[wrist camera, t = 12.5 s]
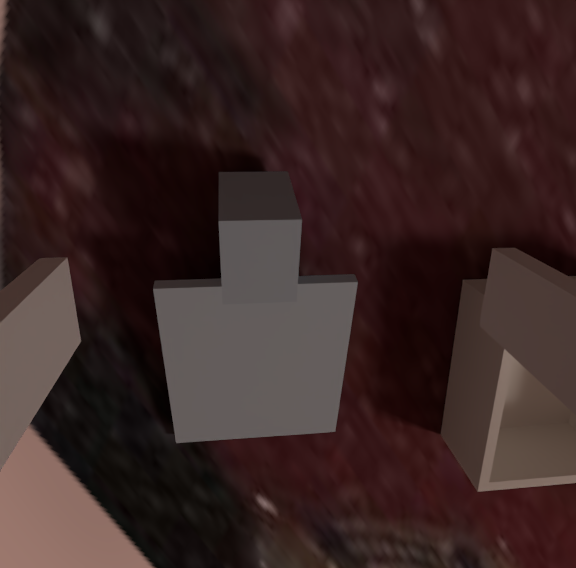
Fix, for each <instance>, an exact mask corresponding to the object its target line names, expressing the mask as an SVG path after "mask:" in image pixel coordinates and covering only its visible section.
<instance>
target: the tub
mask: <svg viewBox="0 0 576 568" xmlns="http://www.w3.org/2000/svg"><path fill="white" fill-rule="evenodd" d="M569 277H571V278H572V279H574V280H576V276H569ZM486 283H487V279H470V280H463V283H462V290H461V297H460V304H459V311H458V317H457V324H456V331H455V338H454V345H453V352H452V359H451V366H450V373H449V380H448V387H447V394H446V400H445V407H444V414H443V421H442V428H441V436H442V438H443V439H444V441H445V442H446V444H447V445H448V447H449V448H450V450H451V451H452V453H453V455H454V456H455V458H456V459H457V461H458V462H459V464H460V465H461V467H462V468H463V470H464V471H465V473H466V474H467V476H468V478H469V479H470V481H471V482H472V484H473V485H474V487H475V488H476V490H477V491H478V492H479V491H490V490H501V489H512V488H524V487H535V486H546V485H557V484H569V483H576V415H575V414H574V413H573V412H572V411H571V410H570V409H569V408H567V407H566V406H565V405H564V404H563V403H562V402H561V401H560V400H559V399H558V398H557V397H556V396H555V395H553V394H552V393H551V392H550V391H549V390H548V389H547V388H546V387H545V386H544V385H543V384H542V383H541V382H539V381H538V380H537V379H536V378H535V377H534V376H533V375H532V374H531V373H530V372H529V371H528V370H527V369H525V368H524V367H523V366H522V365H521V364H520V363H519V362H518V361H517V360H516V359H515V358H514V357H513V356H511V355H510V354H509V353H508V352H507V351H506V350H505V349H504V348H503V347H502V346H501V345H500V344H499V343H497V342H496V341H495V340H494V339H493V338H492V337H491V336H490V335H489V334H488V333H487V332H486V331H485V330H484V329H482V328H481V327H480V326H479V324H480V318H481V312H482V307H483V301H484V295H485V289H486Z"/></svg>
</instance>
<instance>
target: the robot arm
mask: <svg viewBox="0 0 576 568" xmlns="http://www.w3.org/2000/svg"><path fill="white" fill-rule="evenodd" d="M479 326H480V327H481V328H482V329H484V330H485V331H486V332H487V333H488V334H489V335H490V336H491V337H492V338H493V339H494V340H495V341H496V342H497V343H499V344H500V345H501V346H502V347H503V348H504V349H505V350H506V351H507V352H508V353H509V354H510V355H511V356H513V357H514V358H515V359H516V360H517V361H518V362H519V363H520V364H521V365H522V366H523V367H524V368H525V369H527V370H528V371H529V372H530V373H531V374H532V375H533V376H534V377H535V378H536V379H537V380H538V381H539V382H541V383H542V384H543V385H544V386H545V387H546V388H547V389H548V390H549V391H550V392H551V393H552V394H553V395H555V396H556V397H557V398H558V399H559V400H560V401H561V402H562V403H563V404H564V405H565V406H566V407H567V408H569V409H570V410H571V411H572V412H573V413H574V414H575V415H576V280H574V279H572V278H571V277H569V276H567V275H565V274H563V273H561V272H559V271H557V270H556V269H554V268H552V267H550V266H548V265H546V264H544V263H543V262H541V261H539V260H537V259H535V258H533V257H531V256H529V255H528V254H526V253H524V252H522V251H520V250H518V249H516V248H492V254H491V260H490V266H489V272H488V277H487V283H486V289H485V295H484V301H483V307H482V312H481V318H480V324H479ZM80 342H81V338H80V332H79V326H78V320H77V314H76V308H75V302H74V296H73V289H72V283H71V277H70V271H69V265H68V259H67V258H40V259H38V260H37V261H36V262H35V263H34V264H32V265H31V266H30V267H29V268H28V269H26V270H25V271H24V272H23V273H22V274H21V275H19V276H18V277H17V278H16V279H15V280H13V281H12V282H11V283H10V284H9V285H7V286H6V287H5V288H4V289H3V290H1V291H0V470H1V469H2V467H3V466H4V464H5V462H6V461H7V459H8V458H9V456H10V454H11V452H12V451H13V450H14V448H15V446H16V445H17V443H18V441H19V440H20V438H21V437H22V435H23V433H24V432H25V430H26V429H27V427H28V425H29V424H30V422H31V421H32V419H33V417H34V416H35V414H36V413H37V411H38V409H39V408H40V406H41V405H42V403H43V401H44V400H45V398H46V396H47V395H48V393H49V392H50V390H51V388H52V387H53V385H54V384H55V382H56V380H57V379H58V377H59V376H60V374H61V372H62V371H63V369H64V368H65V366H66V364H67V363H68V361H69V360H70V358H71V356H72V355H73V353H74V351H75V350H76V348H77V347H78V345H79V343H80Z"/></svg>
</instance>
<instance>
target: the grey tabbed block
mask: <svg viewBox="0 0 576 568" xmlns="http://www.w3.org/2000/svg"><path fill="white" fill-rule="evenodd" d="M301 226H302V218H301V215H300V211H299V208H298V205H297V201H296V198H295V194H294V191H293V188H292V184H291V181H290V177H289V174H288V172H219V242H220V263H221V279H190V280H158V281H154V287H153V292H154V298H155V305H156V312H157V319H158V325H159V332H160V339H161V345H162V352H163V359H164V365H165V372H166V379H167V386H168V392H169V399H170V406H171V412H172V419H173V426H174V432H175V439H176V443H182V442H197V441H211V440H225V439H239V438H253V437H268V436H282V435H296V434H310V433H325V432H335V429H336V423H337V416H338V409H339V403H340V396H341V390H342V383H343V376H344V370H345V363H346V357H347V350H348V343H349V337H350V330H351V324H352V317H353V310H354V304H355V297H356V291H357V284H358V281H357V279H356V276H355V274H349V275H317V276H298V273H299V257H300V242H301Z"/></svg>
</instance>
